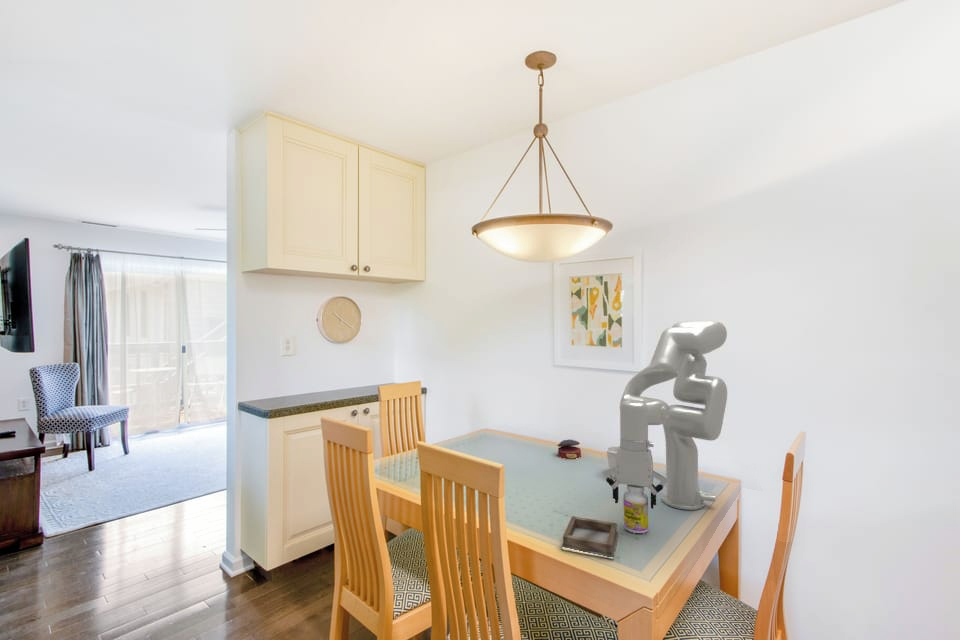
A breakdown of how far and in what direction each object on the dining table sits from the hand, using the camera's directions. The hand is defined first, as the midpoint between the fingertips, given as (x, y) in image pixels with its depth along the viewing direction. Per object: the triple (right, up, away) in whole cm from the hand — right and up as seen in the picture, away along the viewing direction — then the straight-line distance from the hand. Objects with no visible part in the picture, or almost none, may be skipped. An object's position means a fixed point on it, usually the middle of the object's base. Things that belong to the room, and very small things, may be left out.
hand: (634, 504), depth 125 cm
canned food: (-5, -7, +67) cm, 68 cm away
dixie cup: (+9, -7, +43) cm, 44 cm away
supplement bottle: (+1, -8, +1) cm, 8 cm away
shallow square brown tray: (-14, -8, -6) cm, 17 cm away
